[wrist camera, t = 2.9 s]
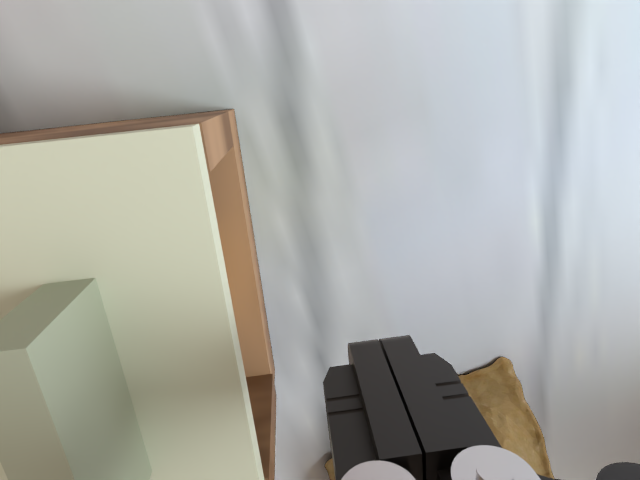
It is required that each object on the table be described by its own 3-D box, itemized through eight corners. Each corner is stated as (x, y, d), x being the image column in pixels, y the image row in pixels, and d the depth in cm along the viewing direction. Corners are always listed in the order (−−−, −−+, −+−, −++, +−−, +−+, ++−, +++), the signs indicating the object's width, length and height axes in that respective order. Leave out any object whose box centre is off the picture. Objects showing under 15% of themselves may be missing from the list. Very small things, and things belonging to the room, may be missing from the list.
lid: (198, 123, 10) (153, 142, 7) (270, 513, 14) (266, 655, 11) (-113, 156, 10) (-335, 195, 6) (52, 544, 14) (-27, 701, 10)
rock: (320, 564, 23) (513, 578, 23) (312, 661, 15) (612, 686, 15) (329, 353, 27) (497, 361, 26) (327, 339, 18) (571, 351, 18)
